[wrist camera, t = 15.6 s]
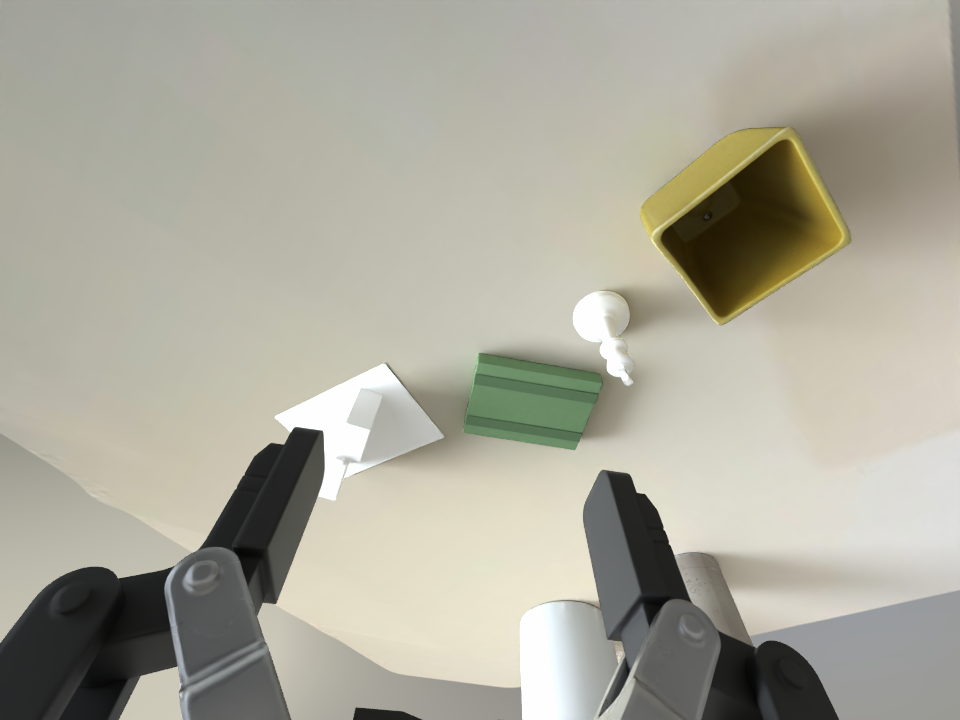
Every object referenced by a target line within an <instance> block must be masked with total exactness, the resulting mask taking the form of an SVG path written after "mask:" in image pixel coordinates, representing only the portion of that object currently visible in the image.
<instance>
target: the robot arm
mask: <svg viewBox="0 0 960 720" xmlns="http://www.w3.org/2000/svg"><path fill="white" fill-rule="evenodd" d="M324 472H325V453H324V432H323V430H317V429H309V428H302V427H294V428H293V429H292V431H291V433H290V435H289V437H288V439H287V440H286V442H285V444H284V445H282V444H274V443H270V444H269V445H268V446H267V447H265V448H264V449H263V450H262V451H261V452H259V453H258V454H257V455H256V456H255V457H254V458H253V460H252V462H251V463H250V465H249V467H248V469H247V470H246V472H245V476H243V477H242V479H241V481H240V482H239V484H238V486H237V489H236V490H235V491H234V493H233V494H232V496H231V498H230V499H229V501H228V503H227V505H226V506H225V508H224V510H223V512H222V513H221V515H220V517H219V518H218V520H217V522H216V524H215V525H214V527H213V529H212V530H211V532H210V534H209V536H208V537H207V539H206V541H205V542H204V543H203V545H202V546H201V547H200V548H199V550H198V551H196V552H194V553H191V554H190V555H188V556H186V557H185V558H184V559H183V560H181V561H180V562H179V563H178V564H177V565H175V566H173V567H171V568H168V569H165V570H161V571H157V572H152V573H146V574H141V575H136V576H130V577H125V578H119V579H118V578H117V576H116V575H115V574H114V572H112V571H110V570H109V569H106V568H103V567H87V568H82V569H78V570H75V571H72V572H70V573H67V574H65V575H63V576H61V577H60V578H58V579H56V580H55V581H53V582H52V583H51V584H49V585H48V586H46V587H45V588H44V589H43V590H42V591H41V592H40V593H39V594H38V595H37V596H36V597H35V599H34V600H33V601H32V603H31V604H30V605H29V606H28V608H27V609H26V610H25V612H24V613H23V614H22V616H21V617H20V618H19V620H18V621H17V622H16V623H15V625H14V626H13V627H12V629H11V630H10V631H9V633H8V634H7V635H6V637H5V638H4V639H3V640H2V642H1V643H0V720H119V718H120V716H121V714H122V712H123V710H124V708H125V706H126V704H127V702H128V700H129V698H130V695H131V694H132V692H133V690H134V688H135V686H136V684H137V682H138V680H139V678H140V676H142V675H146V674H149V673H153V672H157V671H161V670H165V669H169V668H173V667H177V666H178V670H179V676H180V683H181V689H180V691H179V697H180V706H181V713H182V719H183V720H291V718H290V714H289V711H288V708H287V705H286V701H285V698H284V695H283V692H282V689H281V686H280V682H279V680H278V676H277V673H276V670H275V667H274V664H273V660H272V658H271V655H270V652H269V649H268V646H267V643H266V642H265V640H264V637H263V634H262V631H261V627H260V624H259V621H258V618H257V615H258V613H259V610H260V608H261V606H262V603H272V604H276V603H277V600H278V597H279V595H280V592H281V590H282V587H283V585H284V582H285V579H286V577H287V574H288V572H289V569H290V566H291V564H292V561H293V559H294V556H295V554H296V551H297V548H298V546H299V543H300V541H301V538H302V535H303V533H304V530H305V528H306V525H307V523H308V520H309V517H310V515H311V512H312V510H313V507H314V504H315V502H316V499H317V497H318V494H319V492H320V489H321V486H322V482H323V478H324ZM583 523H584V528H585V533H586V538H587V543H588V548H589V553H590V558H591V563H592V567H593V572H594V577H595V582H596V587H597V592H598V597H599V602H600V607H601V612H602V617H603V622H604V627H605V632H606V637H607V640H613V641H622V643H623V648H624V652H625V653H624V655H623V656H622V658H621V660H620V662H619V664H618V666H617V668H616V671H615V673H614V675H613V677H612V679H611V681H610V684H609V686H608V688H607V690H606V692H605V694H604V697H603V699H602V701H601V703H600V705H599V707H598V710H597V712H596V714H595V716H594V718H593V720H839V719H838V716H837V714H836V712H835V710H834V708H833V706H832V704H831V702H830V700H829V698H828V696H827V694H826V692H825V689H824V687H823V685H822V683H821V681H820V679H819V678H818V675H817V674H816V672H815V671H814V669H813V668H812V666H811V665H810V664H809V663H808V662H807V660H806V659H805V658H804V657H803V656H801V655H800V654H799V653H798V652H797V651H795V650H794V649H793V648H791V647H789V646H788V645H786V644H783V643H781V642H777V641H766V642H764V643H762V644H761V645H760V646H759V647H758V648H755V647H753V646H751V645H749V644H746V643H744V642H742V641H740V640H737V639H735V638H733V637H731V636H729V635H726V634H724V633H722V632H720V631H719V630H717V629H716V627H715V625H714V624H713V622H712V621H711V619H710V618H709V617H708V616H707V614H706V613H705V612H704V611H702V610H701V609H700V608H699V607H697V606H696V605H694V604H693V603H692V601H691V599H690V597H689V594H688V592H687V589H686V586H685V584H684V581H683V578H682V575H681V573H680V570H679V567H678V565H677V562H676V559H675V557H674V554H673V551H672V548H671V546H670V545H669V540H668V538H667V535H666V532H665V531H664V530H663V528H664V527H663V524H662V521H661V519H660V516H659V513H658V511H657V509H656V508H655V507H654V505H653V504H652V503H651V501H650V500H649V499H648V498H647V496H646V495H645V494H640V493H637V492H636V490H635V487H634V484H633V481H632V478H631V476H630V475H629V474H628V473H622V472H614V471H607V470H602V471H601V472H600V473H599V475H598V477H597V479H596V481H595V483H594V485H593V487H592V489H591V491H590V493H589V495H588V497H587V499H586V502H585V505H584V510H583ZM353 720H421V719H419V718H417V717H414V716H412V715H410V714H407V713H405V712H402V711H390V710H378V709H367V708H356V709H355V713H354V718H353Z"/></svg>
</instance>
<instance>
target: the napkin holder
mask: <svg viewBox="0 0 960 720" xmlns="http://www.w3.org/2000/svg"><path fill="white" fill-rule="evenodd" d="M275 418H276V419H277V420H278V421H279V422H280V423H282V424H283V425H284V426H285V427H286V428H287V429H288V430H289V431H290V432H291V431H292V429H293V428H294V427H302V428H309V429H317V430H323V432H324V453H325V472H324V478H323V482H322V486H321V489H320V492H319V494H318V496H319V497H323V498H327V499H330V500H334V501H335V500H336V497H337V495H338V492H339V489H340V487H341V484H342V482H343V479H344V478H345V477H347V478H348V476H350V475H353V474H355V473H358V472H360V471H363V470H365V469H367V468H370V467H372V466H375V465H377V464H380V463H382V462H385V461H387V460H390V459H392V458H395V457H397V456H400V455H402V454H405V453H407V452H409V451H412V450H414V449H417V448H419V447H422V446H424V445H427V444H429V443H432V442H434V441H437V440H439V439H442V438H444V435H443V434H442V433H441V432H440V430H439V429H438V428H437V427H436V426H435V424H434V423H433V422H432V421H431V419H430V418H429V417H428V416H427V414H426V413H425V412H424V411H423V410H422V408H421V407H420V406H419V405H418V403H417V402H416V401H415V400H414V399H413V397H412V396H411V395H410V394H409V392H408V391H407V390H406V389H405V388H404V386H403V385H402V384H401V383H400V381H399V380H398V379H397V378H396V377H395V375H394V374H393V373H392V372H391V370H390V369H389V368H388V367H387V366H386V364H385V363H383V364H381V365H379V366H377V367H375V368H373V369H371V370H369V371H367V372H365V373H363V374H361V375H359V376H357V377H355V378H353V379H351V380H348V381H346V382H344V383H342V384H340V385H338V386H336V387H334V388H332V389H330V390H328V391H326V392H324V393H322V394H320V395H318V396H316V397H314V398H312V399H310V400H308V401H306V402H303V403H301V404H299V405H297V406H295V407H293V408H291V409H289V410H287V411H285V412H283V413H281V414H279V415H277V416H275Z"/></svg>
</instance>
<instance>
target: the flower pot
mask: <svg viewBox="0 0 960 720" xmlns="http://www.w3.org/2000/svg"><path fill="white" fill-rule="evenodd" d="M708 212H709V213H710V214H711V215H710V218H709V219H707V220H705V219H704V218H703V217H704V214H706V213H708ZM640 216H641V220H642V222H643V224H644V226H645V228H646V231H647V232H648V234H649V236H650V238H651V241H652V242H653V244H654V245H655V246H656V247H657V249H658V250H659V251H660V252H661V254H662V255H663V256H664V257H665V258H666V259H667V260H668V262H669V263H670V264H671V265H672V267H673V268H674V269H675V270H676V271H677V273H678V274H679V275H680V276H681V278H682V279H683V280H684V281H685V283H686V284H687V285H688V287H689V288H690V289H691V291H692V292H693V293H694V295H695V296H696V298H697V299H698V300H699V302H700V303H701V304H702V306H703V307H704V308H705V310H706V311H707V312H708V314H709V315H710V317H711V318H712V320H713V321H714V322H715V323H716V324H718V325H723V324H726V323H727V322H729V321H731V320H732V319H734V318H735V317H737V316H738V315H740V314H741V313H743V312H744V311H746V310H748V309H749V308H751V307H752V306H754V305H755V304H757V303H758V302H760V301H761V300H763V299H764V298H766V297H767V296H769V295H771V294H772V293H774V292H775V291H777V290H778V289H780V288H781V287H783V286H784V285H786V284H788V283H789V282H791V281H792V280H794V279H796V278H797V277H799V276H800V275H802V274H803V273H805V272H806V271H808V270H810V269H811V268H813V267H815V266H816V265H818V264H819V263H821V262H822V261H824V260H825V259H827V258H829V257H830V256H832V255H833V254H835V253H836V252H838V251H839V250H841V249H842V248H844V247H845V246H846V245H848V244H849V243H850V242H851V233H850V230H849V228H848V226H847V225H846V223H845V221H844V219H843V217H842V215H841V213H840V211H839V210H838V208H837V206H836V204H835V202H834V201H833V199H832V197H831V195H830V193H829V191H828V189H827V187H826V185H825V184H824V182H823V180H822V178H821V176H820V174H819V172H818V170H817V168H816V166H815V165H814V163H813V161H812V159H811V157H810V155H809V153H808V151H807V149H806V147H805V145H804V143H803V141H802V139H801V138H800V136H799V135H798V133H797V132H796V131H795V129H794V128H792V127H774V128H749V129H743V130H739V131H736V132H734V133H731V134H729V135H728V136H726V137H724V138H723V139H721V140H720V141H718V142H717V143H716V144H714V145H713V146H712V147H711V148H710V149H708V150H707V151H706V152H705V153H704V154H702V155H701V156H700V157H699V158H698V159H696V160H695V161H694V162H693V163H692V164H690V165H689V166H688V167H687V168H686V169H684V170H683V171H682V172H681V173H680V174H678V175H677V176H676V177H675V178H673V179H672V180H671V181H670V182H669V183H667V184H666V185H665V186H664V187H662V188H661V189H660V190H659V191H658V192H656V193H655V194H654V195H653V196H651V197H650V198H649V199H648V200H647V201H646V202H645V203H644V204H643V206H642V208H641V211H640Z"/></svg>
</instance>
